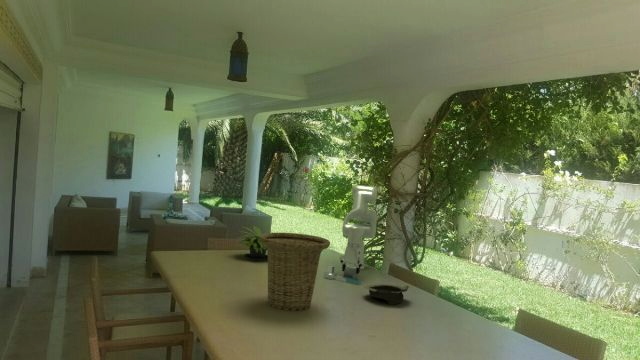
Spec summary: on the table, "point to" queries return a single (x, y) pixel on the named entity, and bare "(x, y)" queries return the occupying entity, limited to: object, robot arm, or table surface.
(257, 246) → the fern plant
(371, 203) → the robot arm
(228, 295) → the table surface
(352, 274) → the brushed grey cube
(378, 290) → the stone bowl
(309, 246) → the wicker basket
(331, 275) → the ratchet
